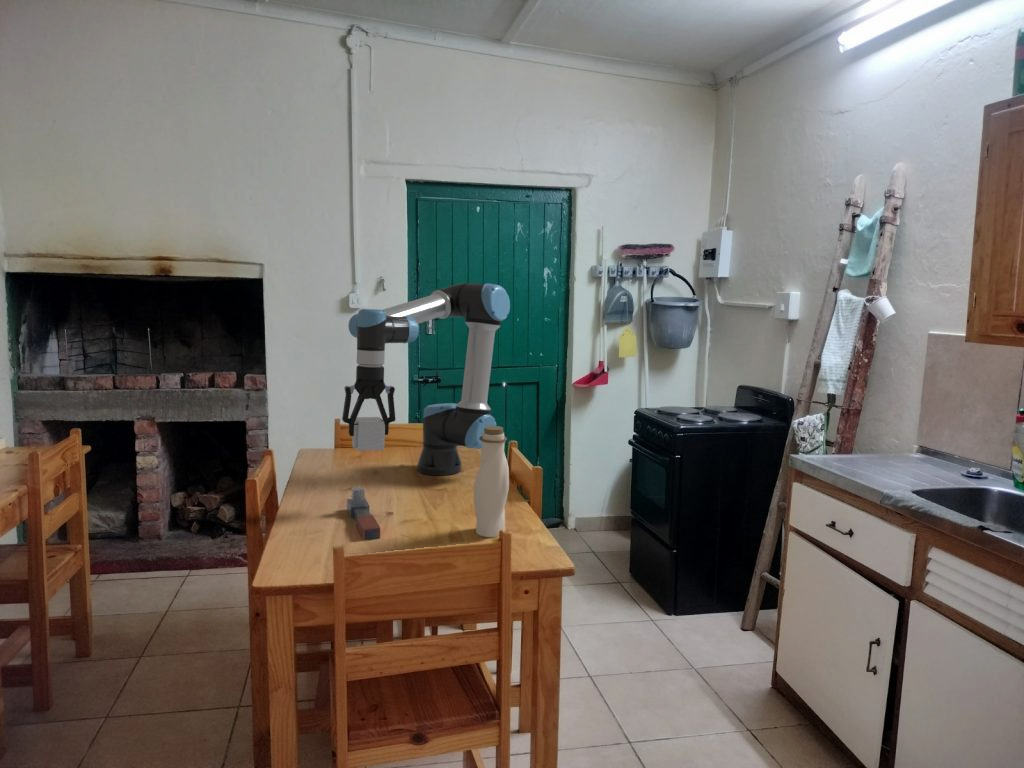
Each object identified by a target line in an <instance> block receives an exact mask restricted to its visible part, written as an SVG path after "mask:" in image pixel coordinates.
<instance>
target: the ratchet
mask: <svg viewBox="0 0 1024 768" xmlns="http://www.w3.org/2000/svg"><path fill="white" fill-rule="evenodd" d="M350 497H351V498H347V499H346V511H347V512H348V515H349V517H350V518H351V519H352V518H353V519H354V521H355V523H356V528H357V530H358V532H359V534H360V536H361V538H362V540H363V541H367V540H378V539H381V527H380V525H379V523H378V521H377V520H376V517H375V516H374V514H371V513H370V504H369V502H368V500H367V499H366V497H365V488H364V487H363V486H355V487H354V486H353V487H351V495H350Z"/></svg>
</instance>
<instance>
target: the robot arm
mask: <svg viewBox="0 0 1024 768" xmlns="http://www.w3.org/2000/svg"><path fill="white" fill-rule="evenodd" d="M510 302H511V300H510V297H509V294H508V293H507V291H506V289H505V288H504V287H503V286H501V285H498V284H493V283H487V282H486V283H474V282H471V283H470V282H464V283H463V282H462V283H457V284H453V285H448V286H447V287H443V288H439V289H436V290H433V291H432V292H431V293H430V295H427V296H424V297H421V298H417V299H413V300H410V301H408V302H407V301H406V302H404V303H400V304H397V305H394V306H391V307H386V308H384V309H377V308H376V309H375V308H374V309H373V308H361V309H359V310H358V313H355V314H353V315H352V316H351V317H350V319H349V320H348V331H349V333H350V335H351V336H352V337H354V338H356V364H357V366H356V370H355V371H356V372H355V378H356V379H355V383H354V384H353V385H349V386H348V385H345V386H344V392H345V396H344V397H345V398H344V403H343V411H342V418H341V419H342V421H343V423H345V424H348V435H349V437H352V438H351V439H352V440H351V441H352V443H351V444H352V445H351V447H352V448H353V449H356V448H357V424H356V423H355V421H356V418H357V417H358V415H359V413H360V411H361V408H362V406H363V404H364V402H365V400H370V399H372V400H375V402H376V405H377V408H378V410H379V413H380V417H381V419H382V420H383V421H384V446H385V440H386V436H388V435H389V431H390V430H389V428H390V427H389V426H390V423H392V422H393V423H394V422H396V411H395V409H396V408H395V399H394V394H395V390H396V388H395V387H394V386H393V385H387V384H386V383H385V367H384V366H383V365H385V351H386V349H385V348H386V344H407V343H413V342H414V341H416V339H417V338H418V336H419V329H420V328H419V324H422V323H425V322H428V321H431V320H434V319H437V318H438V319H442V320H443V319H447V318H464V319H465V322H464V324H465V325H466V326H467V327H468V335H467V338H468V339H467V344H466V345H467V346H466V353H465V354H466V355H465V364H464V372H463V373H464V374H463V381H462V390H461V400H460V401H459V402H458V403H455V402H449V403H448V402H447V403H446V402H445V403H436V404H429V405H426V407H424V409H423V417H422V439H423V440H422V442H423V444H422V450H421V453H420V456H419V459H418V461H417V471H418V472H420V473H421V474H424V475H429V476H450V475H454V474H457V473H460V472H462V466H463V465H462V460H461V458H460V454H459V451H458V446H463V447H465V448H468V449H476V450H482V441H481V440H480V439H479V438H480V437H481V436H483V432H484V427H486V426H497V422H496V419H495V417H493V416H492V414H491V411H492V408H491V407H490V406H489V404H488V400H489V399H488V397H489V391H490V390H489V389H490V378H491V373H492V372H491V371H492V362H493V354H494V344H495V334H496V332H497V330H498V329H499V328H501V322H503V321H504V320H506V319H507V317H508V316H509V313H510V309H511V303H510ZM354 390H355V391H356V392H357V393H358V396H357V398H356V402H355V405H354V407H353V409H352V412H351V414H350V408H351V402H352V394H353V393H354ZM384 390H385V393H387V404H388V405H387V406H388V415H387V412H386V408H385V405H384V403H383V400H382V397H381V395H382V393H383V392H384ZM349 415H350V416H349ZM482 439H483V438H482Z"/></svg>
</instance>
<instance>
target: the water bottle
mask: <svg viewBox="0 0 1024 768" xmlns="http://www.w3.org/2000/svg"><path fill="white" fill-rule="evenodd" d="M482 438H483V439H482ZM479 439H480V440H481V441H482V449H480V467H479V470H478V471H477V472H476V477H475V479H474V480H475V481H474V487H473V488H474V490H473V505H474V512H475V516H476V526H475V534H477V535H478V536H480V537H484V538H498V537H499V536H498V533H499V531H500V530H503V531H505V532H506V510H505V506H506V503H507V499H508V494H509V489H510V470H509V469H510V468H509V464H508V460H507V457H506V453H505V446H506V445H505V444H506V442H507V440H508V439H507V436H505V432H504V427H503V426H499V425H496V426H486V427H484V432H483V436H481V437H480V438H479Z"/></svg>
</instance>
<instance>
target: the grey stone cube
mask: <svg viewBox="0 0 1024 768" xmlns="http://www.w3.org/2000/svg"><path fill="white" fill-rule="evenodd" d="M355 423H356V424H357V448H355V449H356V451H358V452H360V451H362V452H363V451H365V452H366V451H384V448H385V445H384V421H383V419H382V417H381V416H365V417H364V416H361V417H358V416H357V418H356V421H355Z"/></svg>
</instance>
